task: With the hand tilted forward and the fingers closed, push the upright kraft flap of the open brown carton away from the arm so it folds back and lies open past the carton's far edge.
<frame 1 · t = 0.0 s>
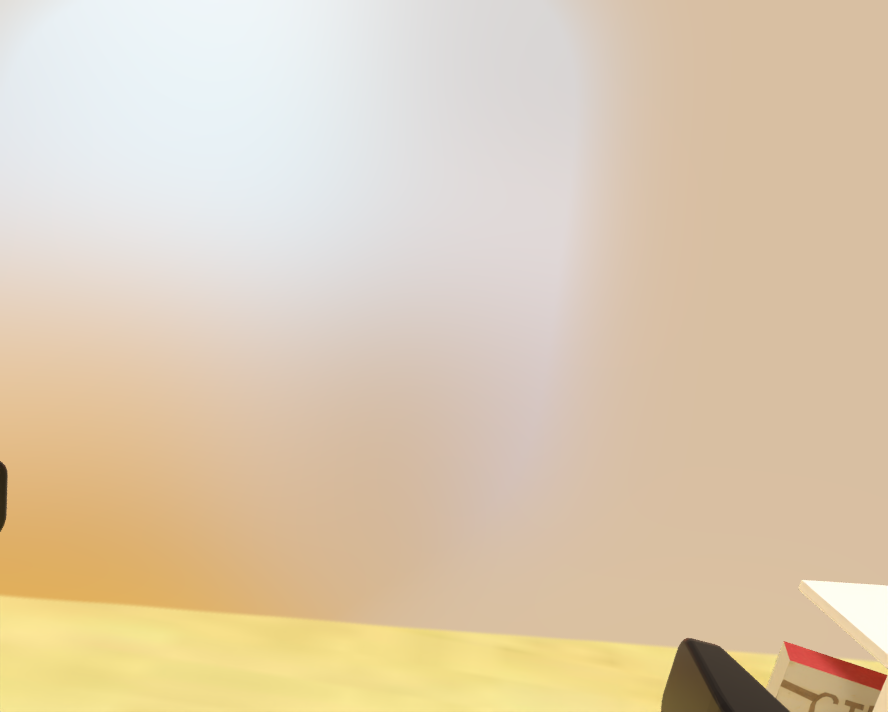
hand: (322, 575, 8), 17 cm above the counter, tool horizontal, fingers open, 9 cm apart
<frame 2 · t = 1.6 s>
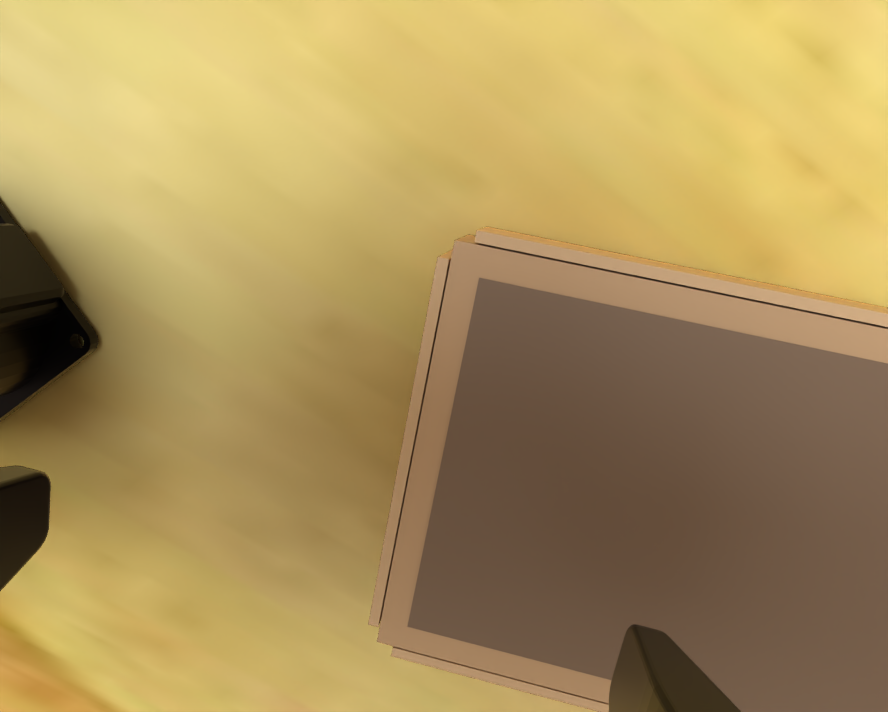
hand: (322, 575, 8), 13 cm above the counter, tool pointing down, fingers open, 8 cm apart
carton: (679, 474, 21), on the counter
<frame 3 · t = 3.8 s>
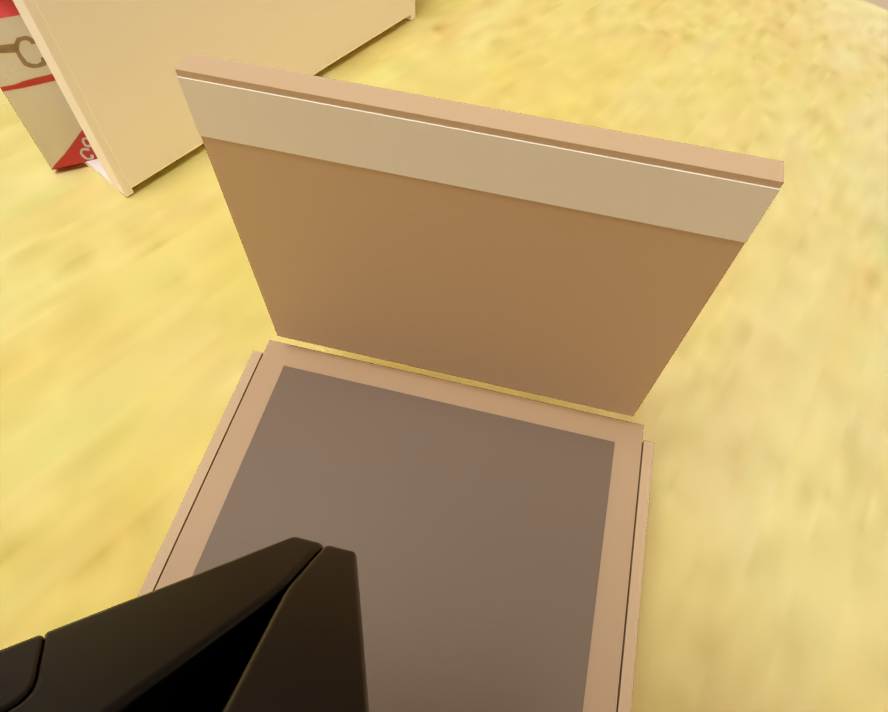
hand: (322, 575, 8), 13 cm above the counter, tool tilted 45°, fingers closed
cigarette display: (242, 84, 34), on the counter
carton: (383, 668, 20), on the counter
flap: (458, 273, 16), point 9 cm above the counter, hinge at 88.0°
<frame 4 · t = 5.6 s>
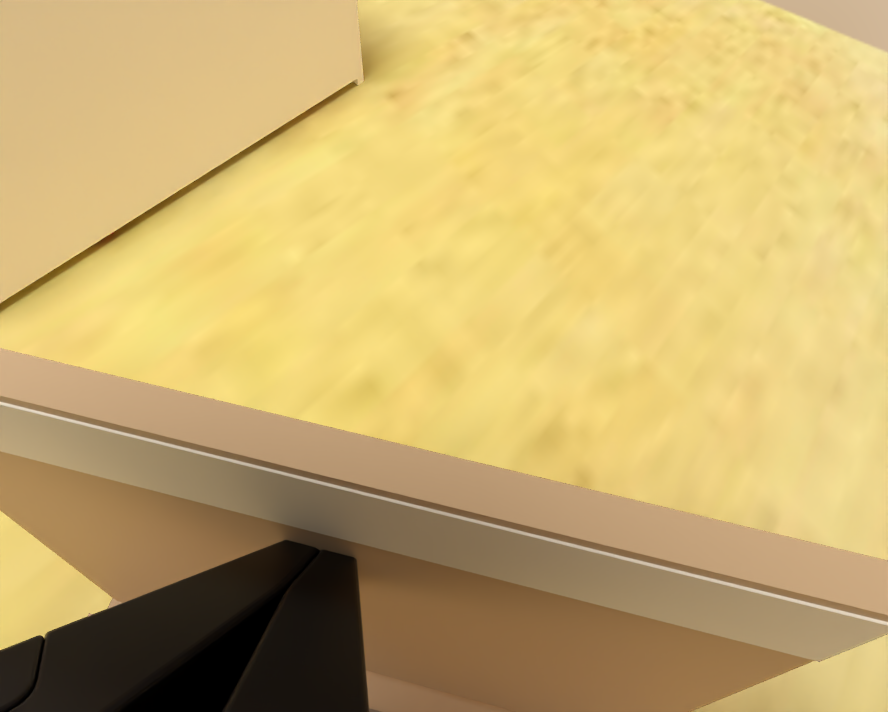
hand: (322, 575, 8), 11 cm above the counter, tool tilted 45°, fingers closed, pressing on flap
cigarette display: (147, 167, 28), on the counter
flap: (344, 590, 10), point 9 cm above the counter, hinge at 94.1°, touching gripper
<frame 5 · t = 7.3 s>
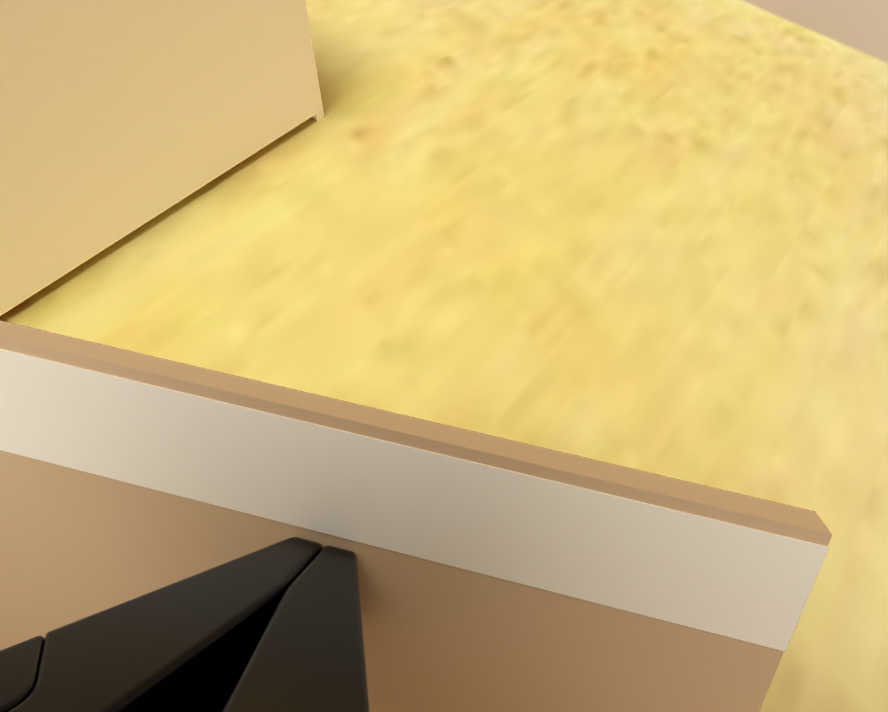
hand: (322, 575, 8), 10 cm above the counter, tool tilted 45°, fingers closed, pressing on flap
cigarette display: (70, 219, 24), on the counter
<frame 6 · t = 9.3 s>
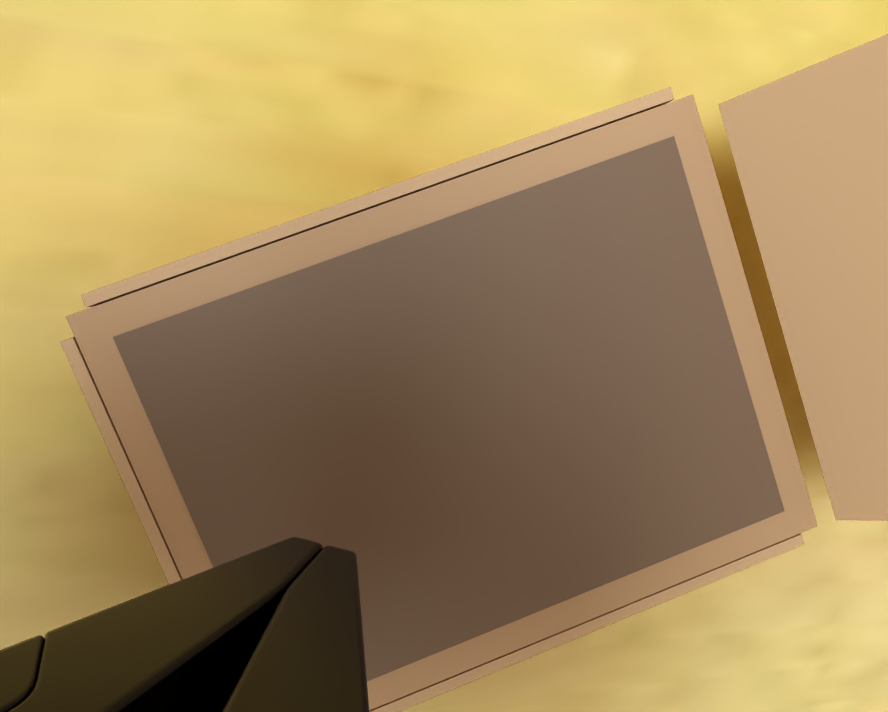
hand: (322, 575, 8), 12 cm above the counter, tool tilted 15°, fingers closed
carton: (455, 405, 20), on the counter
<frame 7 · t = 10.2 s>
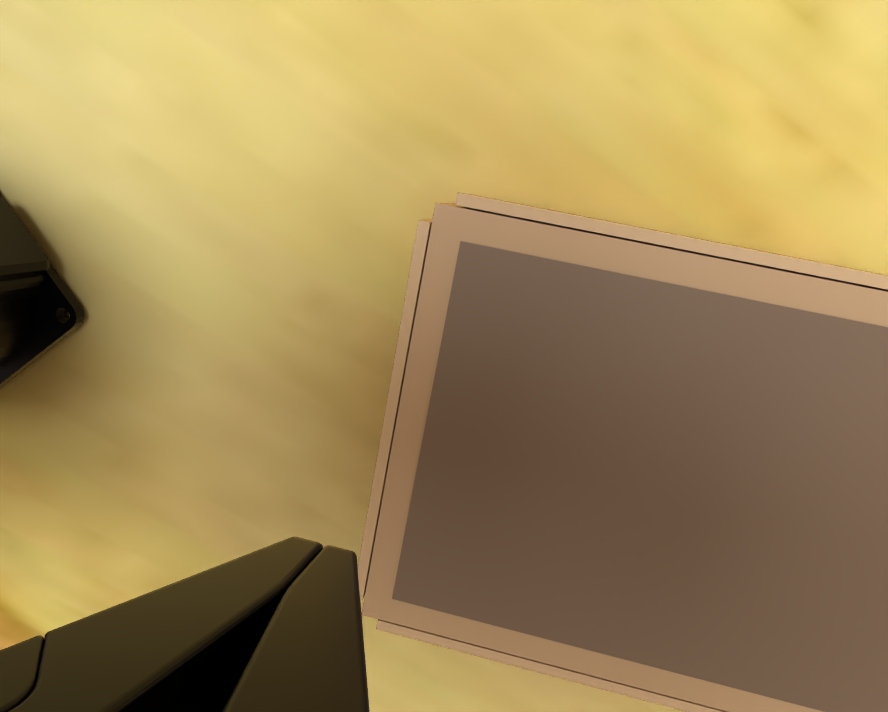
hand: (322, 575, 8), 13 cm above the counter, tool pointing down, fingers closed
carton: (668, 447, 21), on the counter
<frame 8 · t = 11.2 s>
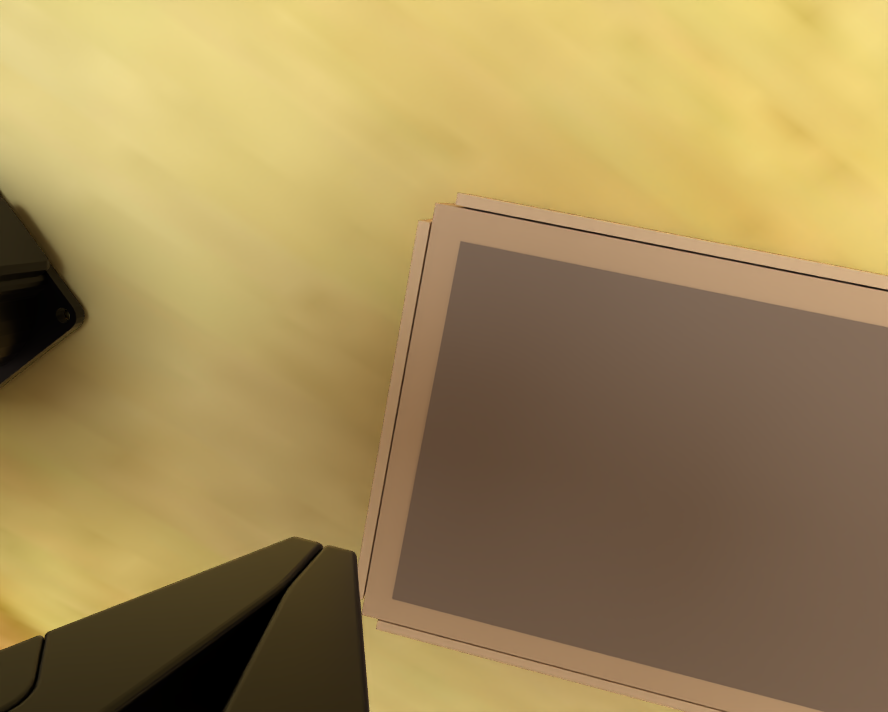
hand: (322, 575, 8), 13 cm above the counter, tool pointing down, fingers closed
carton: (668, 447, 21), on the counter
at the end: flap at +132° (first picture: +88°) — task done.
